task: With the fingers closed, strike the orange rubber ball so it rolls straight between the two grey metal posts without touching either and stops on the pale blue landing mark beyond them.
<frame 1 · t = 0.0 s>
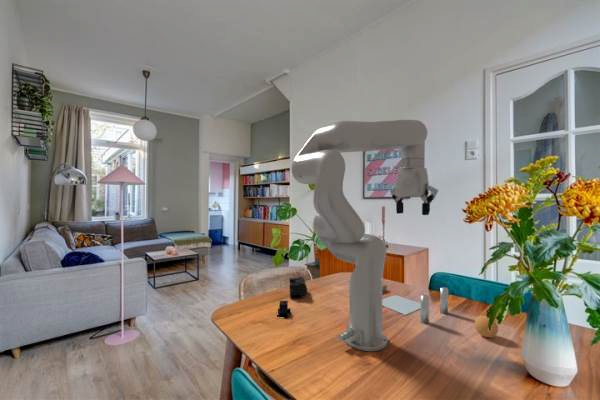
hand: (412, 214, 95), 37 cm above the table, tool pointing down, fingers open, 9 cm apart
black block: (283, 315, 100), on the table
right post: (444, 312, 100), on the table
ball: (486, 326, 84), on the table
end cap: (298, 295, 118), on the table
landing mark: (400, 304, 108), on the table
left post: (424, 322, 93), on the table
stopper wall: (371, 293, 119), on the table
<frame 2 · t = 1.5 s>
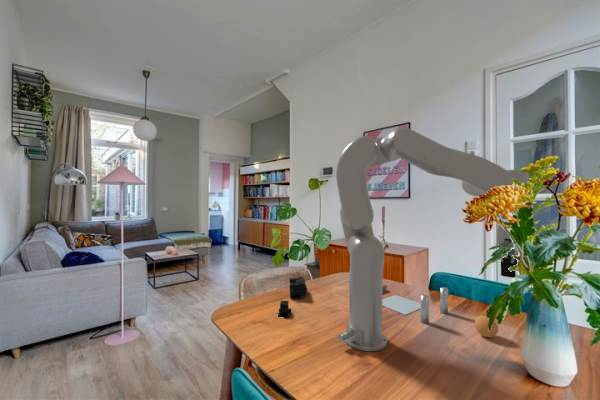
hand: (512, 273, 78), 21 cm above the table, tool pointing down, fingers open, 9 cm apart
nothing on the table moved.
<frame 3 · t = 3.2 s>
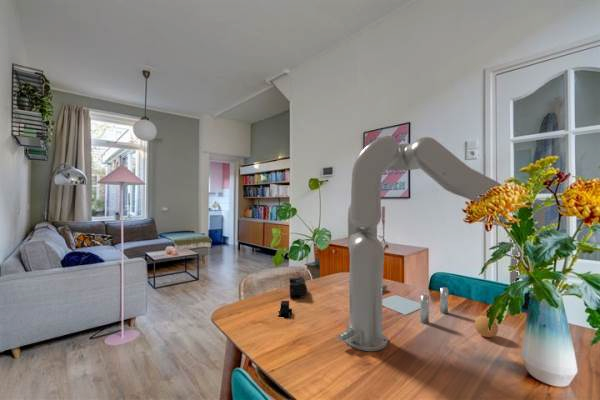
hand: (527, 309, 76), 12 cm above the table, tool pointing down, fingers closed
nothing on the table moved.
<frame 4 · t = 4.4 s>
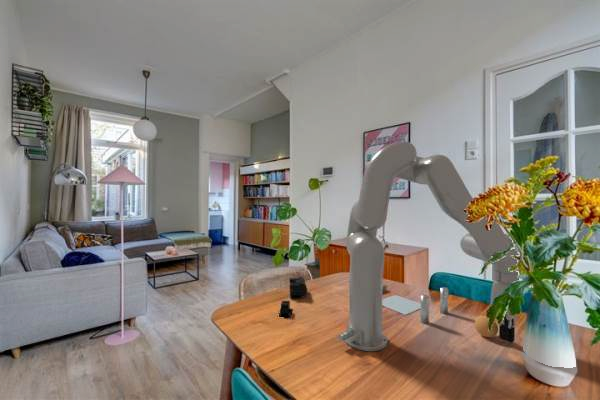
hand: (506, 339, 79), 1 cm above the table, tool pointing down, fingers closed
nothing on the table moved.
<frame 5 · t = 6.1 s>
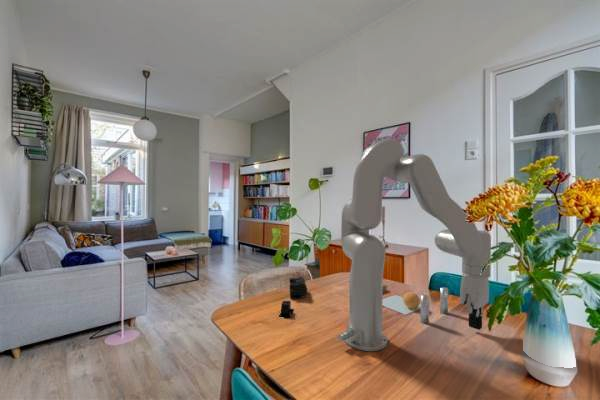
hand: (475, 327, 86), 2 cm above the table, tool pointing down, fingers closed
ball: (411, 300, 104), on the table
everything else where it was.
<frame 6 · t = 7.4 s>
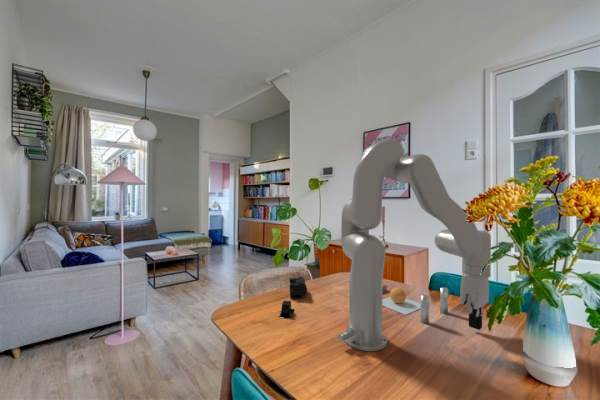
hand: (475, 327, 86), 2 cm above the table, tool pointing down, fingers closed
ball: (397, 295, 109), on the table
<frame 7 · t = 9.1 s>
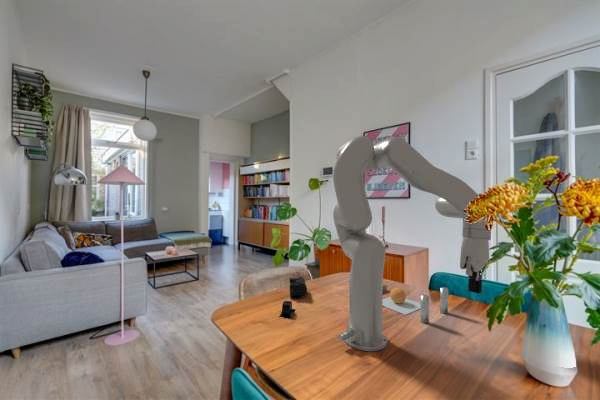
hand: (474, 291, 86), 13 cm above the table, tool pointing down, fingers closed
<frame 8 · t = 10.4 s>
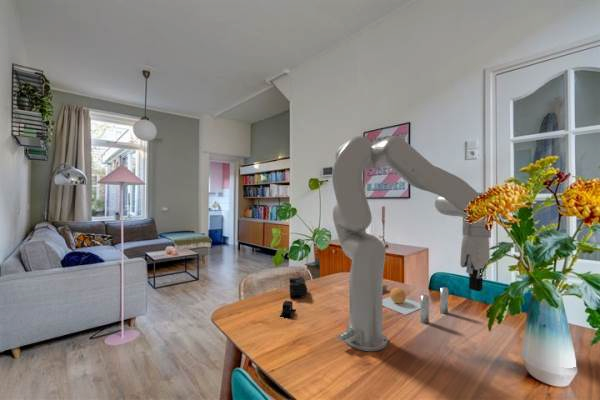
hand: (475, 289, 86), 13 cm above the table, tool pointing down, fingers closed
at the end: ball 1.3 cm from the landing mark (horizontally); ball never touched left post; ball never touched right post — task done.
